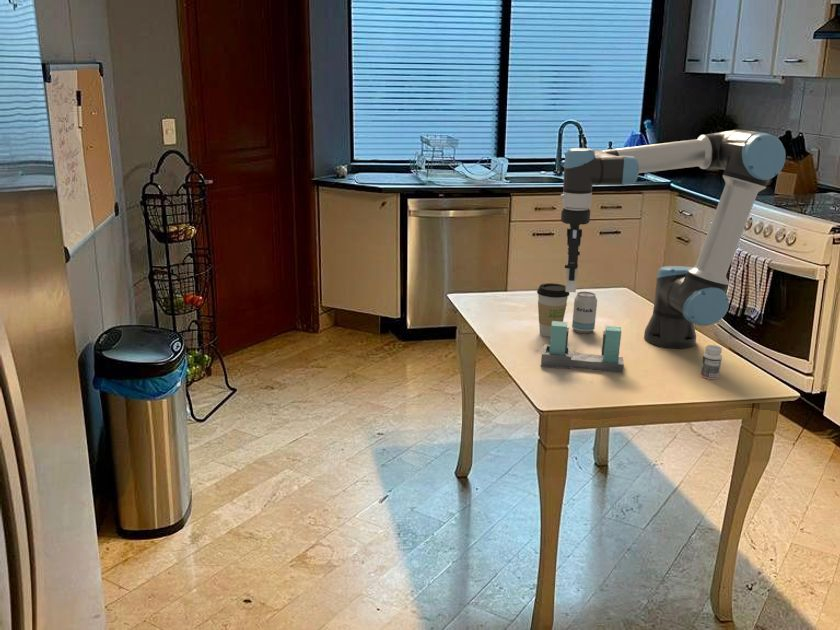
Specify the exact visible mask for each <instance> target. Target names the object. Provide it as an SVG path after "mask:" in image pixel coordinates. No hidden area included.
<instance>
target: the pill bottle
mask: <svg viewBox="0 0 840 630" xmlns="http://www.w3.org/2000/svg"><path fill="white" fill-rule="evenodd" d="M722 350H723V348H722V347H721V346H718V345H713V344H709V345H706V346H705V350H704V351H705V352H704V353H703V355H702V361H701V368H700V369H701V370H700V376H701V377H702V378H704V379H706V378H707V380H718V379H719V377H720V372H721V366H722V361H723V360H722V359H723V357H722V356H723V355H722Z"/></svg>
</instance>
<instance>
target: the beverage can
mask: <svg viewBox="0 0 840 630" xmlns="http://www.w3.org/2000/svg"><path fill="white" fill-rule="evenodd" d="M597 306H598V298H597V296H596V293H594V292H591V291H578V292H577V294H576V295H575V297H574V301H573V310H572V323H571V328H572V329H573V330H575V332H577V333H579V334H590V333H592V331H594V330H595V329H596V328H595V327H596V319H597V318H596V317H597V308H598V307H597Z"/></svg>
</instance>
